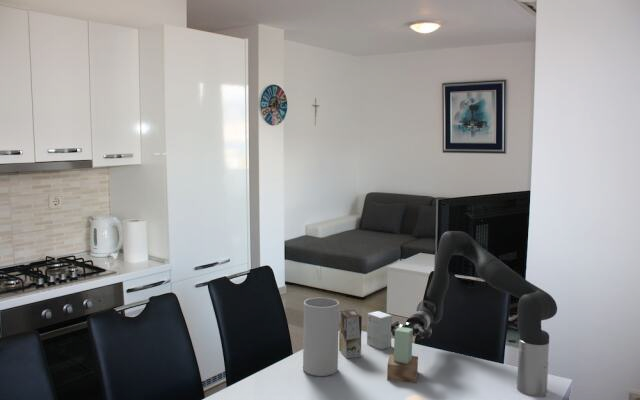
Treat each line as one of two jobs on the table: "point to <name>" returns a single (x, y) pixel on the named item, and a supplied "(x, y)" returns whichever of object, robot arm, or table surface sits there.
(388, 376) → the walnut block
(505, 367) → the table surface
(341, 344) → the coffee box
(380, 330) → the small box
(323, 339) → the cylinder vase
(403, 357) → the sage block
